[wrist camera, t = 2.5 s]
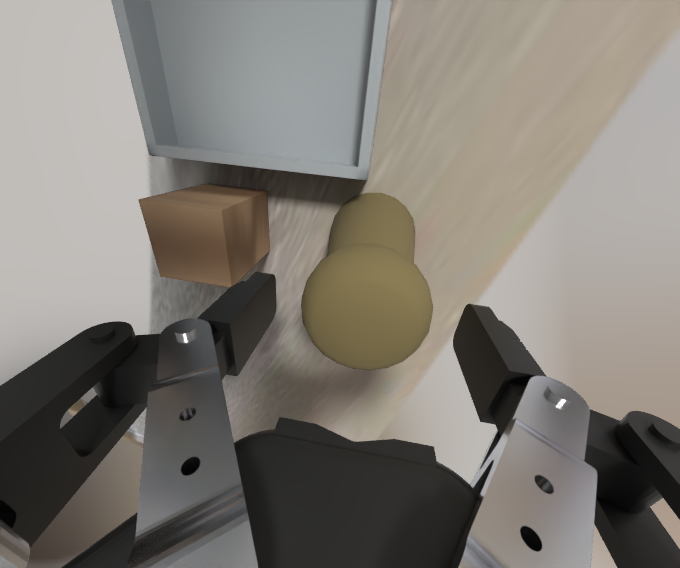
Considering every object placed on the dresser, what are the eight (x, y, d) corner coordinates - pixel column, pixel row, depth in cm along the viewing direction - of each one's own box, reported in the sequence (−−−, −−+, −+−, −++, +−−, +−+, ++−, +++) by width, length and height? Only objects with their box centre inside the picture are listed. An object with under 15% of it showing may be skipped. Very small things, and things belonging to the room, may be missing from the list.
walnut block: (206, 183, 18) (138, 199, 13) (267, 190, 18) (221, 210, 13) (216, 242, 21) (160, 276, 15) (270, 250, 20) (231, 287, 15)
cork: (416, 270, 19) (451, 394, 10) (338, 276, 21) (300, 393, 11) (414, 185, 17) (459, 244, 7) (323, 199, 18) (257, 264, 8)
